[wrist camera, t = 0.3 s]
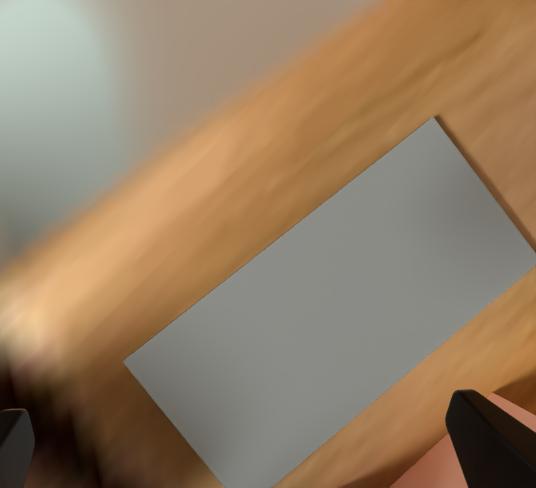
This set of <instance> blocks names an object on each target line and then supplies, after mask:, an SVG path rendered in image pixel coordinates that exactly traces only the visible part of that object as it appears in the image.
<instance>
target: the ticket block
mask: <svg viewBox="0 0 536 488" xmlns="http://www.w3.org/2000/svg"><path fill="white" fill-rule="evenodd" d="M486 398H487V399H488V400H490V401H491V402H493V403H494V404H495V405H497V406H498V407H500V408H501V409H503V410H504V411H506V412H507V413H508V414H510V415H511V416H513V417H514V418H516V419H517V420H518V421H520V422H521V423H523V424H524V425H526V426H527V427H529V428H530V429H531V430H533V431H534V432H536V415H534V414H532V413H530V412H528V411H526V410H524V409H523V408H521V407H519V406H517V405H515V404H513V403H511V402H510V401H508V400H506V399H504V398H502V397H500V396H498V395H496V394H495V393H493V392H492V393H491V394H490V395H489V396H487V397H486ZM389 488H468V486H467V483H466V480H465V478H464V475H463V472H462V469H461V466H460V464H459V461H458V458H457V455H456V452H455V450H454V447H453V444H452V441H451V438H450V436H449V433H448V434H446V435H445V436H444V437H443V438H442V439H441V440H440V441H439V442H438V443H437V444H436V445H435V446H433V447H432V448H431V449H430V450H429V451H428V452H427V453H426V454H425V455H424V456H423V457H422V458H421V459H419V460H418V461H417V462H416V463H415V464H414V465H413V466H412V467H411V468H410V469H409V470H408V471H406V472H405V473H404V474H403V475H402V476H401V477H400V478H399V479H398V480H397V481H396V482H395V483H394V484H392V485H391V486H390V487H389Z"/></svg>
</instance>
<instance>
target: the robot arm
mask: <svg viewBox="0 0 536 488" xmlns="http://www.w3.org/2000/svg"><path fill="white" fill-rule="evenodd" d="M445 420H446V427H447V430H448V433H449V436H450V438H451V441H452V444H453V447H454V450H455V452H456V455H457V458H458V461H459V464H460V466H461V469H462V472H463V475H464V478H465V480H466V483H467V486H468V488H536V432H534V431H533V430H531V429H530V428H529V427H527V426H526V425H524V424H523V423H521V422H520V421H518V420H517V419H516V418H514V417H513V416H511V415H510V414H508V413H507V412H506V411H504V410H503V409H501V408H500V407H498V406H497V405H495V404H494V403H493V402H491V401H490V400H488V399H487V398H485V397H484V396H483V395H481V394H480V393H478V392H477V391H475V390H471V389H469V390H456V391H455V392H454V393H453V395H452V398H451V401H450V404H449V407H448V410H447V413H446V419H445ZM34 445H35V438H34V433H33V429H32V425H31V422H30V418H29V414H28V412H27V410H25V409H6V410H3V411H1V412H0V488H24V484H25V480H26V476H27V473H28V469H29V465H30V462H31V458H32V454H33V450H34Z"/></svg>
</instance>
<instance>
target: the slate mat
mask: <svg viewBox="0 0 536 488" xmlns="http://www.w3.org/2000/svg"><path fill="white" fill-rule="evenodd" d="M535 265H536V253H535V252H534V250H533V249H532V248H531V246H530V245H529V244H528V242H527V241H526V240H525V238H524V237H523V236H522V234H521V233H520V232H519V230H518V229H517V228H516V226H515V225H514V224H513V222H512V221H511V220H510V218H509V217H508V216H507V214H506V213H505V212H504V210H503V209H502V208H501V206H500V205H499V204H498V202H497V201H496V200H495V198H494V197H493V196H492V194H491V193H490V192H489V190H488V189H487V188H486V186H485V185H484V184H483V182H482V181H481V180H480V178H479V177H478V176H477V174H476V173H475V172H474V170H473V169H472V168H471V166H470V165H469V164H468V162H467V161H466V160H465V158H464V157H463V156H462V154H461V153H460V152H459V150H458V149H457V148H456V146H455V145H454V144H453V143H452V141H451V140H450V139H449V137H448V136H447V135H446V133H445V132H444V131H443V129H442V128H441V127H440V125H439V124H438V123H437V121H436V120H435V119H434V117H432V118H431V119H429V120H428V121H427V122H425V123H424V124H423V125H422V126H420V127H419V128H418V129H416V130H415V131H414V132H413V133H411V134H410V135H409V136H408V137H406V138H405V139H404V140H402V141H401V142H400V143H399V144H397V145H396V146H395V147H394V148H392V149H391V150H390V151H389V152H387V153H386V154H385V155H383V156H382V157H381V158H380V159H378V160H377V161H376V162H375V163H373V164H372V165H371V166H369V167H368V168H367V169H366V170H364V171H363V172H362V173H361V174H359V175H358V176H357V177H356V178H354V179H353V180H352V181H350V182H349V183H348V184H347V185H345V186H344V187H343V188H342V189H340V190H339V191H338V192H336V193H335V194H334V195H333V196H331V197H330V198H329V199H328V200H326V201H325V202H324V203H322V204H321V205H320V206H319V207H317V208H316V209H315V210H314V211H312V212H311V213H310V214H309V215H307V216H306V217H305V218H303V219H302V220H301V221H300V222H298V223H297V224H296V225H295V226H293V227H292V228H291V229H289V230H288V231H287V232H286V233H284V234H283V235H282V236H281V237H279V238H278V239H277V240H276V241H274V242H273V243H272V244H270V245H269V246H268V247H267V248H265V249H264V250H263V251H262V252H260V253H259V254H258V255H256V256H255V257H254V258H253V259H251V260H250V261H249V262H248V263H246V264H245V265H244V266H242V267H241V268H240V269H239V270H237V271H236V272H235V273H234V274H232V275H231V276H230V277H229V278H227V279H226V280H225V281H223V282H222V283H221V284H220V285H218V286H217V287H216V288H215V289H213V290H212V291H211V292H209V293H208V294H207V295H206V296H204V297H203V298H202V299H201V300H199V301H198V302H197V303H195V304H194V305H193V306H192V307H190V308H189V309H188V310H187V311H185V312H184V313H183V314H182V315H180V316H179V317H178V318H176V319H175V320H174V321H173V322H171V323H170V324H169V325H168V326H166V327H165V328H164V329H162V330H161V331H160V332H159V333H157V334H156V335H155V336H154V337H152V338H151V339H150V340H149V341H147V342H146V343H145V344H143V345H142V346H141V347H140V348H138V349H137V350H136V351H135V352H133V353H132V354H131V355H129V356H128V357H127V358H126V359H124V360H123V363H124V364H125V365H126V367H127V368H128V369H129V370H130V372H131V373H132V374H133V375H134V377H135V378H136V379H137V380H138V381H139V383H140V384H141V385H142V386H143V388H144V389H145V390H146V391H147V393H148V394H149V395H150V396H151V398H152V399H153V400H154V401H155V402H156V404H157V405H158V406H159V407H160V409H161V410H162V411H163V412H164V414H165V415H166V416H167V417H168V418H169V420H170V421H171V422H172V423H173V425H174V426H175V427H176V428H177V430H178V431H179V432H180V433H181V435H182V436H183V437H184V438H185V439H186V441H187V442H188V443H189V444H190V446H191V447H192V448H193V449H194V451H195V452H196V453H197V454H198V456H199V457H200V458H201V459H202V460H203V462H204V463H205V464H206V465H207V467H208V468H209V469H210V470H211V472H212V473H213V474H214V475H215V477H216V478H217V479H218V480H219V481H220V483H221V484H222V485H223V486H224V488H272V487H273V486H274V485H275V484H277V483H278V482H279V481H280V480H281V479H282V478H284V477H285V476H286V475H287V474H288V473H290V472H291V471H292V470H293V469H294V468H296V467H297V466H298V465H299V464H300V463H301V462H303V461H304V460H305V459H306V458H307V457H309V456H310V455H311V454H312V453H313V452H315V451H316V450H317V449H318V448H319V447H320V446H322V445H323V444H324V443H325V442H326V441H328V440H329V439H330V438H331V437H332V436H334V435H335V434H336V433H337V432H338V431H339V430H341V429H342V428H343V427H344V426H345V425H347V424H348V423H349V422H350V421H351V420H352V419H354V418H355V417H356V416H357V415H358V414H360V413H361V412H362V411H363V410H364V409H366V408H367V407H368V406H369V405H370V404H371V403H373V402H374V401H375V400H376V399H377V398H379V397H380V396H381V395H382V394H383V393H385V392H386V391H387V390H388V389H389V388H390V387H392V386H393V385H394V384H395V383H396V382H398V381H399V380H400V379H401V378H402V377H404V376H405V375H406V374H407V373H408V372H409V371H411V370H412V369H413V368H414V367H415V366H417V365H418V364H419V363H420V362H421V361H423V360H424V359H425V358H426V357H427V356H428V355H430V354H431V353H432V352H433V351H434V350H436V349H437V348H438V347H439V346H440V345H442V344H443V343H444V342H445V341H446V340H447V339H449V338H450V337H451V336H452V335H453V334H455V333H456V332H457V331H458V330H459V329H461V328H462V327H463V326H464V325H465V324H466V323H468V322H469V321H470V320H471V319H472V318H474V317H475V316H476V315H477V314H478V313H480V312H481V311H482V310H483V309H484V308H485V307H487V306H488V305H489V304H490V303H491V302H493V301H494V300H495V299H496V298H497V297H499V296H500V295H501V294H502V293H503V292H504V291H506V290H507V289H508V288H509V287H510V286H512V285H513V284H514V283H515V282H516V281H518V280H519V279H520V278H521V277H522V276H523V275H525V274H526V273H527V272H528V271H529V270H531V269H532V268H533V267H534V266H535Z"/></svg>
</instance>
